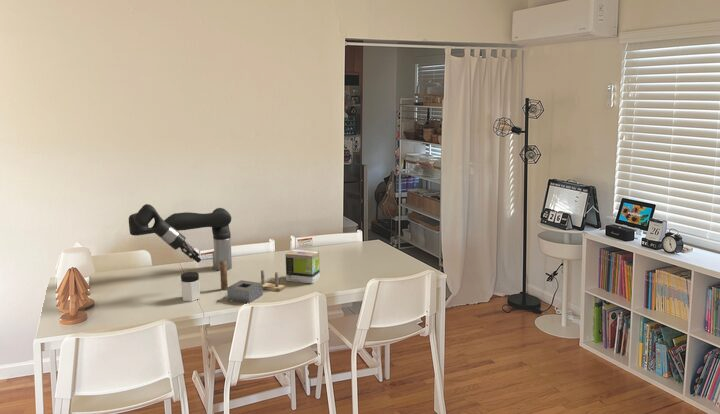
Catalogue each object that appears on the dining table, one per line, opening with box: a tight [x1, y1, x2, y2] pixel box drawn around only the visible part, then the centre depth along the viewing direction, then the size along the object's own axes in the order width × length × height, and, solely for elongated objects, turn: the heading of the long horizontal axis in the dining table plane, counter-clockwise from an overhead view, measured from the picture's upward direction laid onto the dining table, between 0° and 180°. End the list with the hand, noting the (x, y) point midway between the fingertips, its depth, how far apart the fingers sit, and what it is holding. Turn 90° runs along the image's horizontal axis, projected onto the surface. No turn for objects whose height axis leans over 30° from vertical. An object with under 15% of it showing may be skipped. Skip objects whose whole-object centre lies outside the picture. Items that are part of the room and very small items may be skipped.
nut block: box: [226, 279, 264, 304], centre depth 294 cm, size 12×12×6 cm
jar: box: [180, 271, 201, 302], centre depth 292 cm, size 9×8×12 cm
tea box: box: [285, 248, 321, 284], centre depth 319 cm, size 15×10×15 cm, turn 71°
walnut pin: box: [219, 261, 229, 291], centre depth 305 cm, size 3×3×14 cm
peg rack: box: [259, 269, 286, 292], centre depth 307 cm, size 14×5×8 cm, turn 68°
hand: (199, 258), depth 299 cm, fingers open, 8 cm apart
